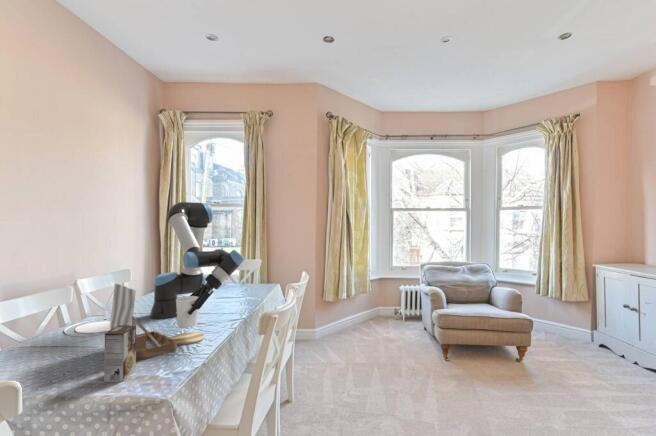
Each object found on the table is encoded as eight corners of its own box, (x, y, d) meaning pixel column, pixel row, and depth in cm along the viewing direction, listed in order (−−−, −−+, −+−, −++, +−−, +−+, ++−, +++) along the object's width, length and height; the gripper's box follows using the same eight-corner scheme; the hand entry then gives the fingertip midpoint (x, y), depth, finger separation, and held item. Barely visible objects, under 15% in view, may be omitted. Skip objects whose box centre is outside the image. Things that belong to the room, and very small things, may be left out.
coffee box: (117, 370, 123) (118, 325, 123) (136, 370, 123) (137, 324, 124) (102, 382, 114) (103, 333, 114) (123, 382, 114) (124, 332, 114)
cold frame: (109, 349, 143) (110, 283, 143) (155, 338, 157) (156, 278, 157) (129, 363, 129) (130, 291, 129) (177, 350, 142) (178, 284, 143)
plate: (88, 340, 154) (88, 338, 154) (50, 331, 165) (50, 329, 165) (144, 323, 179) (144, 322, 179) (108, 317, 191) (108, 315, 191)
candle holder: (203, 323, 159) (204, 297, 159) (188, 329, 149) (189, 301, 149) (186, 321, 162) (186, 295, 162) (170, 327, 152) (170, 299, 153)
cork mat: (162, 339, 155) (162, 338, 155) (194, 331, 166) (194, 330, 166) (178, 347, 145) (178, 346, 145) (210, 339, 157) (210, 337, 157)
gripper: (229, 287, 155) (191, 328, 146) (215, 280, 173) (181, 316, 164) (217, 276, 152) (178, 317, 143) (204, 270, 171) (169, 306, 162)
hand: (180, 317), depth 154 cm, fingers closed on candle holder, 9 cm apart
